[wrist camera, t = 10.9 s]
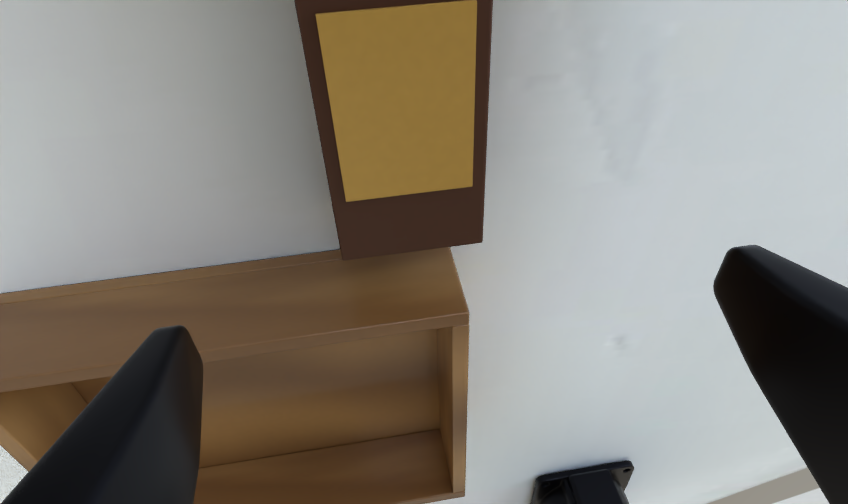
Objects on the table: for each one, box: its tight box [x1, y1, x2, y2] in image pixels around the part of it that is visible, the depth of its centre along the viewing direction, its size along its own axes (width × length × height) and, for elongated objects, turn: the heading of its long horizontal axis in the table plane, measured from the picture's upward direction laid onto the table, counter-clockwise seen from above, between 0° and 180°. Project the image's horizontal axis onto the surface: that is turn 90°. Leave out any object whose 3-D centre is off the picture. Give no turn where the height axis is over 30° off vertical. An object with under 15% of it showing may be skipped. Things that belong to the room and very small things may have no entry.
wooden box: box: [0, 247, 469, 504], centre depth 23 cm, size 13×16×4 cm
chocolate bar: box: [295, 0, 493, 261], centre depth 15 cm, size 10×4×3 cm, turn 2°
